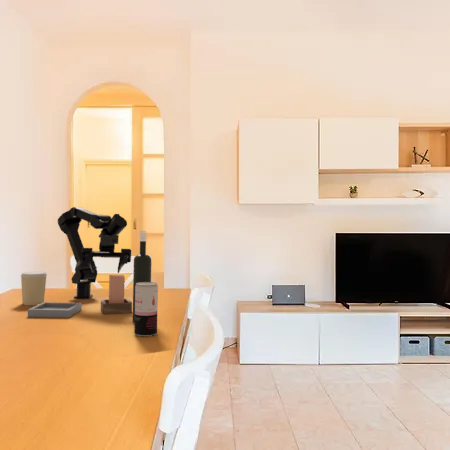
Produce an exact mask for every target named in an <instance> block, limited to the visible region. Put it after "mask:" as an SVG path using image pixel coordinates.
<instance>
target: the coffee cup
mask: <svg viewBox="0 0 450 450" xmlns="http://www.w3.org/2000/svg"><path fill="white" fill-rule="evenodd" d="M47 275H48V274H47V272H45V271H26V272H25V271H23V272H21V274H20V279H21V296H22V298H21V299H22V301H21V302H22V304H23V305H24V306H37V305H38V304H41V303H43V302H45V295H46V294H45V293H46V284H47V283H46V282H47Z"/></svg>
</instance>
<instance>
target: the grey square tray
mask: <svg viewBox="0 0 450 450" xmlns="http://www.w3.org/2000/svg"><path fill="white" fill-rule="evenodd" d="M82 305H83V304H82V302H55V301H54V302H46V301H44V302H43V303H41V304H39V305H33V307H31V308H28V309H27V318H65V319H66V318H67V319H68V318H71V317H73V316H74V315H76V314H77V313H79V312H80V311H82V308H83V307H82Z"/></svg>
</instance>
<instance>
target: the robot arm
mask: <svg viewBox="0 0 450 450" xmlns="http://www.w3.org/2000/svg"><path fill="white" fill-rule="evenodd" d="M82 220H83V221H85V222H87V223H89V224H90V226H91V227H92V228H94V230H101V231H100V234H99V235H98V238H99V242H98V243H99V245H98V247H99V248H98V249H99V250H93V247H84V244H83V241H82V238H81V235H80V234H79V228H80V223H81V222H82ZM127 225H128V221H127V220H126V218H124V217H123V216H121V215H120V213H114V214H113V216H111V215H109V214H100V213H99V214H97V213H95V212H93V211H91V210H88V209H85V208H84V207H81V206H73V207H71V208H70V209H69V210H66V211H65V212H63V213H62V214H61V215H60V216H59V217H58V218H57V226H58V227H59V229H60V231H62V233H64V234H65V235H66V237H67V239H68V242H69V246H70V249H71V252H72V254H73V257H74V259H75V262H76V264H75V268H74V271H75V273H74V274H73V275H72V277H71V283H72V284H76V295H75V296H73V299H90V298H92V297H93V296H94V295H93V294H91V290H92V289H91V286H92V285H91V283H96V280H97V276H98V267H97V266H96V263H95V260H94V258H108V259H109V258H111V259H114V258H115V259H119V260H118V266H117V274H119V273H120V271H122V268H123V266H125V264H128V263H130V262H131V261H132V249H131V248H121V250H120V252H119V251H118V252H117V251H115V247H116V246H115V245H119V235H120V234H121V233H122V232H123V230H124V229H126V228H127Z"/></svg>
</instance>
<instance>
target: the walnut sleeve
mask: <svg viewBox="0 0 450 450" xmlns="http://www.w3.org/2000/svg"><path fill="white" fill-rule="evenodd" d="M100 311H101V314H103V315H114V314H131V313H133V301H132V300H131V299H130V298H124V303H110V304H109V298H104V299H101V300H100Z"/></svg>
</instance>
